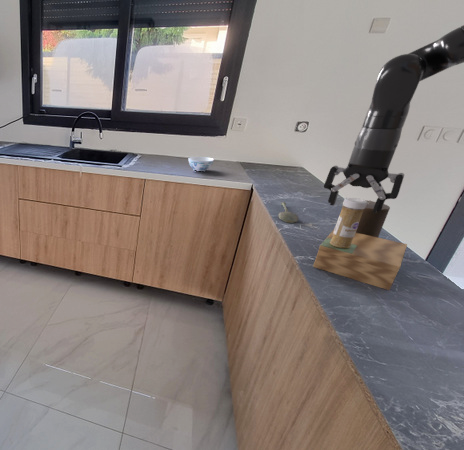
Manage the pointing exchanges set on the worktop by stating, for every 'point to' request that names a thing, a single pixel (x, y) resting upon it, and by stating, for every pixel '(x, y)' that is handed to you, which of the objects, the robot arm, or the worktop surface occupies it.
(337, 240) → the sprinkles bottle
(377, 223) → the pillar candle
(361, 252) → the labeled wooden box
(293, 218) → the soupspoon
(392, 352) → the worktop surface
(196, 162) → the chinaware
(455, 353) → the worktop surface
